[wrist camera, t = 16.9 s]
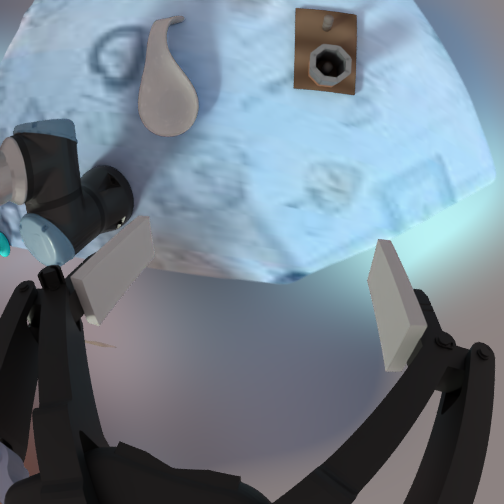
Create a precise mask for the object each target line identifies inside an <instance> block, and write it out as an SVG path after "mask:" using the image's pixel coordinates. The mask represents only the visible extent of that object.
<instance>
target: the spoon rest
mask: <svg viewBox="0 0 504 504" xmlns="http://www.w3.org/2000/svg"><path fill="white" fill-rule="evenodd" d="M184 19H185V18H184V17H183V16H174V17H170V18H165V19H160V20H156V21H155V22H154V23H153V25H152V27H151V30H150V34H149V38H148V43H147V52H146V61H145V67H144V71H143V75H142V80H141V84H140V89H139V97H138V111H139V115H140V118H141V120H142V122H143V124H144V125H145V127H146V128H147V129H148V130H149V131H151V132H152V133H154V134H156V135H159V136H164V137H173V136H177V135H180V134H182V133H184V132H186V131H187V130H188V129H189V128H190V127H191V126H192V125H193V123H194V122H195V120H196V117H197V114H198V109H199V101H198V96H197V93H196V91H195V89H194V87H193V85H192V83H191V81H190V80H189V79H188V77H187V76H186V75H185V73H184V72H183V71H182V69H181V68H180V67H179V65H178V64H177V63H176V61H175V60H174V58H173V57H172V55H171V53H170V51H169V48H168V45H167V31H168V27H169V25H171V24H176V23H180V22H182V21H184Z"/></svg>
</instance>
